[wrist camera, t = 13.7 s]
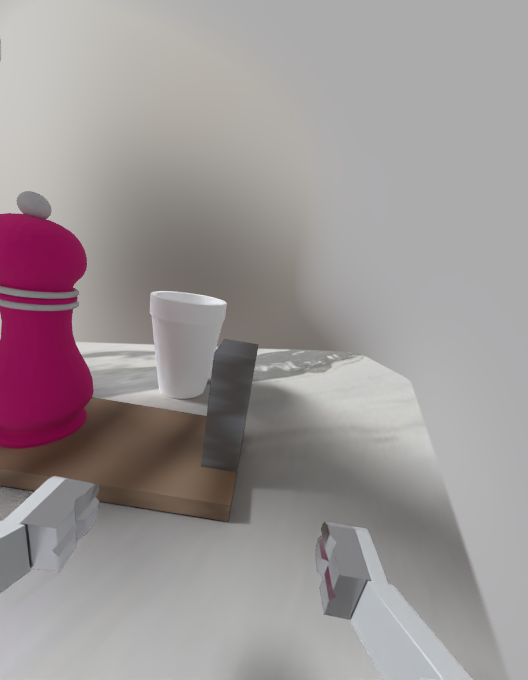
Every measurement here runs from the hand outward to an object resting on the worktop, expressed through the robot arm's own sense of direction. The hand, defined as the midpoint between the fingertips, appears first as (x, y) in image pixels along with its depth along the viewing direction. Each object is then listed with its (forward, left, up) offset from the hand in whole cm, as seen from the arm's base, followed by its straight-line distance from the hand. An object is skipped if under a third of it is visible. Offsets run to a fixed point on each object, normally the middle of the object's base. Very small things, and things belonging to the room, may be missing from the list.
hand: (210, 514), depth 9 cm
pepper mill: (-19, -9, -9) cm, 23 cm away
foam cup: (-26, +5, -9) cm, 28 cm away
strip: (-17, -6, -9) cm, 20 cm away
